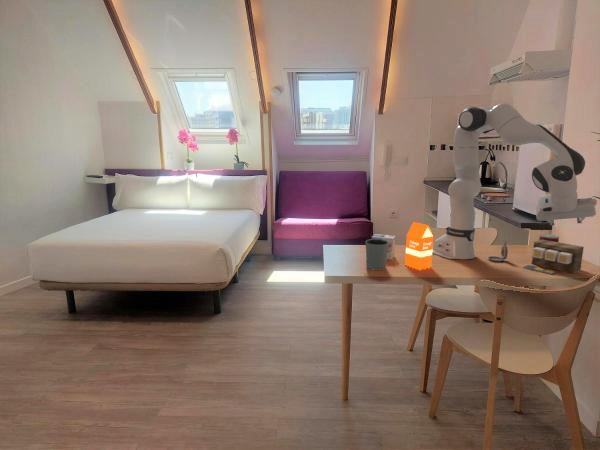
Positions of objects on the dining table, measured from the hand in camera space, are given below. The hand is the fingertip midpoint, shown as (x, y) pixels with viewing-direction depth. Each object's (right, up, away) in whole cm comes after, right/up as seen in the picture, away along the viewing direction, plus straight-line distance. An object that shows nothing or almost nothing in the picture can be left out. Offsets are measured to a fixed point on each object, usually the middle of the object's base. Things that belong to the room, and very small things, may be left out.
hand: (565, 223), depth 169 cm
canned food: (+11, -17, +32) cm, 38 cm away
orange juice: (-56, -20, +18) cm, 62 cm away
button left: (0, -15, +18) cm, 23 cm away
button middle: (+3, -16, +14) cm, 21 cm away
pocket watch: (-15, -18, +27) cm, 36 cm away
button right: (+6, -17, +10) cm, 20 cm away
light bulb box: (-69, -17, +32) cm, 78 cm away
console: (+7, -20, +17) cm, 27 cm away
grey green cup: (-75, -20, +16) cm, 80 cm away
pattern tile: (-3, -21, +13) cm, 24 cm away
